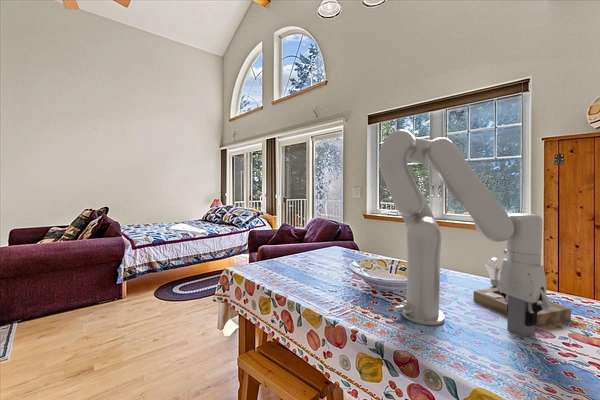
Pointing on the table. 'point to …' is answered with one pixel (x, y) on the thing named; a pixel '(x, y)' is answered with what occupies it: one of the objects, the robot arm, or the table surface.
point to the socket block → (497, 302)
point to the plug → (518, 317)
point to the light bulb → (494, 270)
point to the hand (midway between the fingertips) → (521, 320)
